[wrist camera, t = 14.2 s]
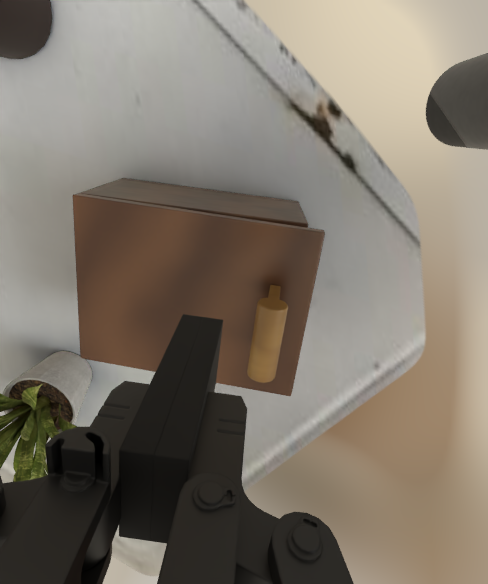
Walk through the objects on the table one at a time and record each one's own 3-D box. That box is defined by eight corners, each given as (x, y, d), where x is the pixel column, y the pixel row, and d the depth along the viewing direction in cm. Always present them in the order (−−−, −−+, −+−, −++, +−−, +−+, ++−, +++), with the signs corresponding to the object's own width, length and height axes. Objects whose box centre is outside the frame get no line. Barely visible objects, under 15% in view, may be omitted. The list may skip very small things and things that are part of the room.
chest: (298, 201, 34) (308, 223, 26) (276, 326, 39) (279, 378, 31) (122, 177, 34) (78, 192, 26) (122, 306, 39) (85, 352, 31)
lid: (324, 230, 25) (330, 252, 20) (291, 390, 30) (289, 438, 25) (78, 192, 26) (30, 205, 21) (85, 353, 31) (47, 392, 26)
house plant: (-31, 367, 43) (-190, 496, 28) (31, 282, 39) (-119, 381, 24) (77, 438, 46) (-13, 587, 31) (146, 367, 42) (78, 501, 27)
